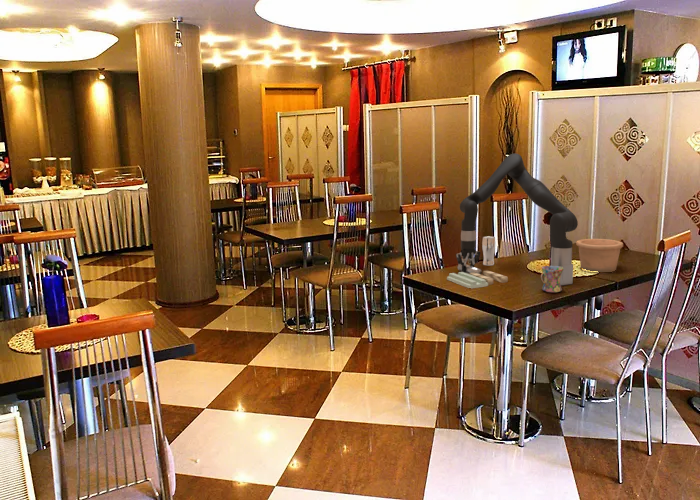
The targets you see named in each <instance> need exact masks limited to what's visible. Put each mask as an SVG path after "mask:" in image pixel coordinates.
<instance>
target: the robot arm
mask: <svg viewBox="0 0 700 500" xmlns="http://www.w3.org/2000/svg"><path fill="white" fill-rule="evenodd" d="M522 157H523V156H521V155H520V154H519V153H517V152H516V153H511V154H509V155H507V156H506V157H505V158H504V159H503V161H502V162H501V163H500V165H499V166H498V167H497V168H496V169H495V171H494V172H493V173H492V174H491V175H490V176H489V177H488V179H487V180H486V181H485V182H484V183H483V184H481V186H479V187H478V188H477V189H476V190H475V191H474V192H473V193H470V194H469V195H468V196H466V197H465V198H463V200H462V201H461V202H460V204H459V210H460V211H461V212H462V213H463V214H464V217H463V218H462V220H461V223H460V224H461V225H460V226H461V232H460V252H459V253H455V257H456V260H457V264H460V265H462V271H461V272H464V273H466V266H465V265H467V262H468V260H469V263H470V264H469V266H472V267H475V264H478V263H479V260H480V257H481V251H477V250H476V247H477V245H476V244H477V234H476V221H477V218H478V212H479V208H478V205H479V204H482V203H484V202H487V200H488V199H489V198H490V197H492V195H494V194H495V192H496V191H497V190H498V188H499V186H500V184H501V183H502V181H503V180H504V178H505V177H506V176H507V175H508V176H509V177H510V178H511V179H512V180H514V181H515V182H516V184H518V186H520V187H521V189H522V191H524V193H525V194H526V196H527V197H528V198H529V199H530V200H531V202H532V203H534V204H535V206H538V207H539V208H541V209H543V210H545V211H547V212H548V213H550V214H551V217H550V220H549V239H550V244H551V246H550V248H551V250H550V266H559V267H562V268H564V269H563V271H562V274H561V277H560V286H567V285H573V278H574V263H573V246H574V245H573V241H572V240H571V239H568V238H567V232H569V233H570V232H573V231H575V230H576V229H577V228H578V226H579V225H578V224H579V223H578V219H577V216H576V215H575V213H573V212H572V211H571V210H570V209H569V208H568V207H566V205H564V204H563V203H562V202H561V201H560V200H559V199H558V198H557V197H556V196H555V195H554V193H552V191H550V189H549V188H548V187H547V186H546V185H545V184H544V183H543V182H542V181H541V180H539V179H537V178H535V177H533V176H532V175H531V173H530V172H529V171H528V170H527V168H526V167H525V166H526V165H525V163H524V160H523V158H522Z"/></svg>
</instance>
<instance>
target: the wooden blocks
mask: <svg viewBox="0 0 700 500" xmlns="http://www.w3.org/2000/svg"><path fill="white" fill-rule="evenodd" d="M468 274H470V275H473V276H476V277H478V278H481V279H484V280H486V282H487V283H488V286H490V285H494V281H495V282H499V283H502V284H504V283H508V281H509V278H508V276H506V275H503V274H500V273H497V272H493V271H491V270H483V271H482V274H481V275H480V274H478V273H475V272H472V273H468Z"/></svg>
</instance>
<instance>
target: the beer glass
mask: <svg viewBox="0 0 700 500" xmlns="http://www.w3.org/2000/svg"><path fill="white" fill-rule="evenodd" d="M481 244H482V245H481V246H482V247H481V248H482V254H483V262H482V265H483V266H495V261H494V259H495V258H494V257H495V251H496V236H490V235H488V236H487V235H486V236H482V242H481Z"/></svg>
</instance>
